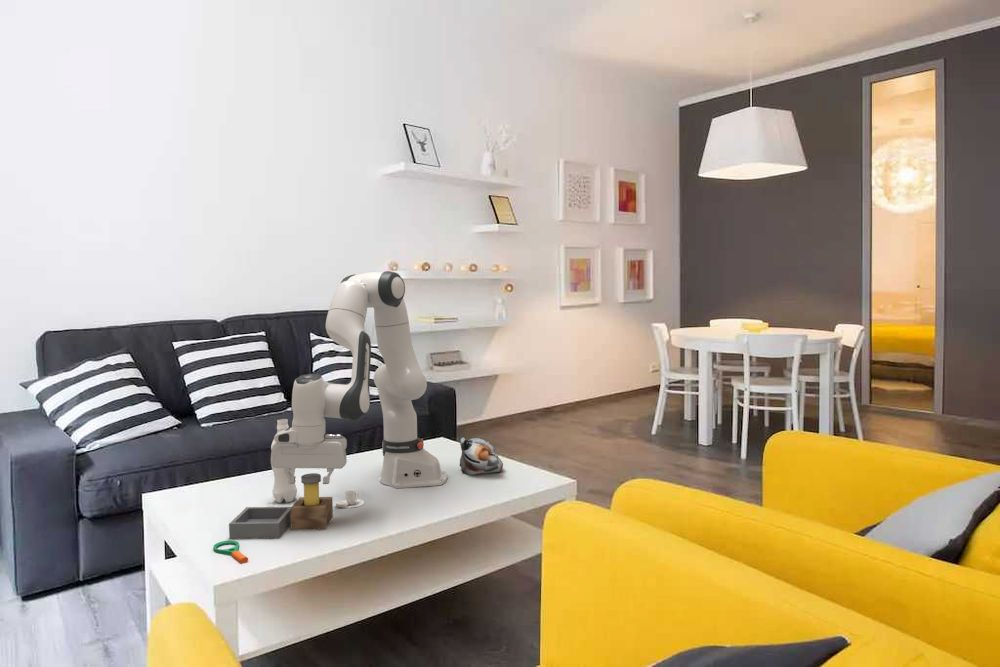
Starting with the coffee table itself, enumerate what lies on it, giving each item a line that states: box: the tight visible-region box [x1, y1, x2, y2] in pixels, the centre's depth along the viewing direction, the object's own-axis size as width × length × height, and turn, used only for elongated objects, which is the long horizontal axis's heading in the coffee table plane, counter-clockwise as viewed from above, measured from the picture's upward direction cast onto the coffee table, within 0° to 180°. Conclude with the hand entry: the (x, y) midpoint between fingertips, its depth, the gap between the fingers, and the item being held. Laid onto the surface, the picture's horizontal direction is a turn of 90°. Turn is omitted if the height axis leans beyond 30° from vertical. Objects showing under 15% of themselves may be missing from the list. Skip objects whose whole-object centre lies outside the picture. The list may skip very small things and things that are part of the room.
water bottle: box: [270, 418, 298, 504], centre depth 210 cm, size 7×7×25 cm
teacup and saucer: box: [335, 489, 365, 509], centre depth 207 cm, size 9×8×4 cm
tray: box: [228, 506, 292, 540], centre depth 187 cm, size 13×13×4 cm
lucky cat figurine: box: [459, 437, 504, 476], centre depth 238 cm, size 17×14×16 cm
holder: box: [290, 496, 334, 531], centre depth 191 cm, size 9×9×6 cm
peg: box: [300, 472, 322, 506], centre depth 190 cm, size 5×5×14 cm
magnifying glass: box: [212, 539, 249, 564], centre depth 171 cm, size 15×6×2 cm, turn 42°
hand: (309, 483), depth 190 cm, fingers open, 8 cm apart
